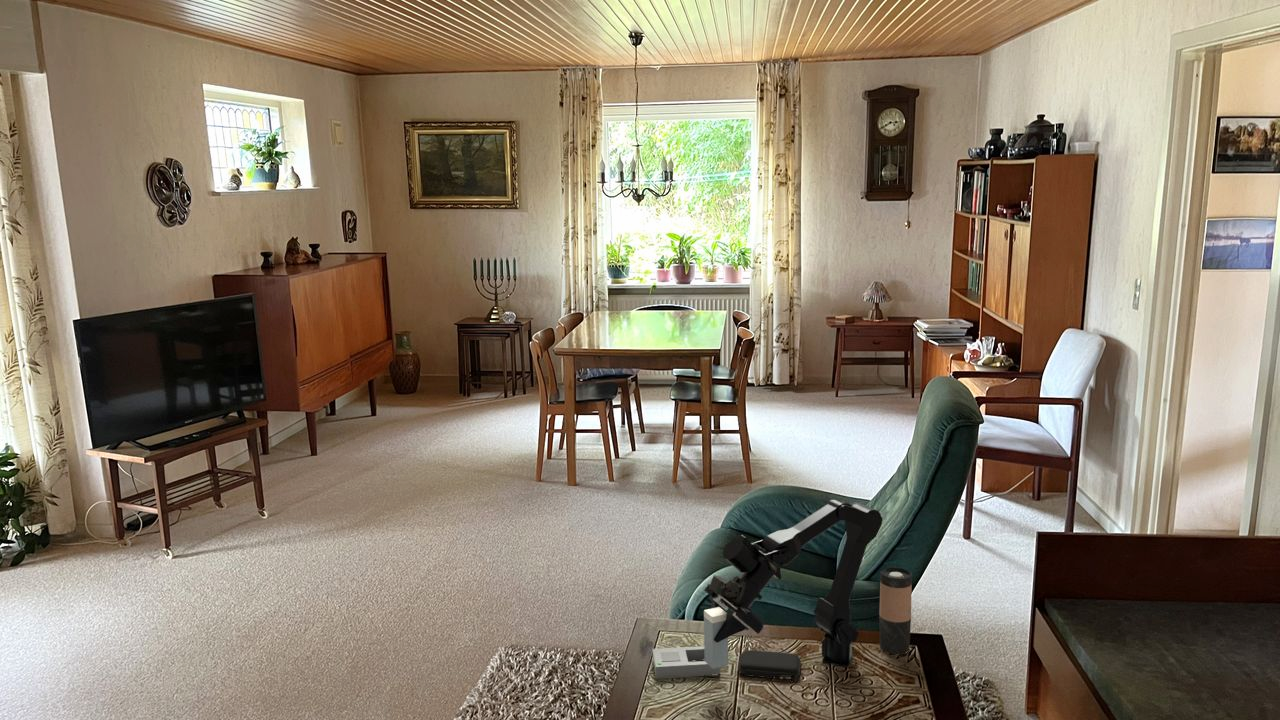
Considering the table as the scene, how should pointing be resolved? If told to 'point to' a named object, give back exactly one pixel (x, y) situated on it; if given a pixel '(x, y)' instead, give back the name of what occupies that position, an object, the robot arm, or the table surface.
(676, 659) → the grey holder base
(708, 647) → the blue-grey square block
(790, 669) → the carrying case or bag
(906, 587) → the travel mug
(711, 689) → the table surface
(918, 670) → the table surface
